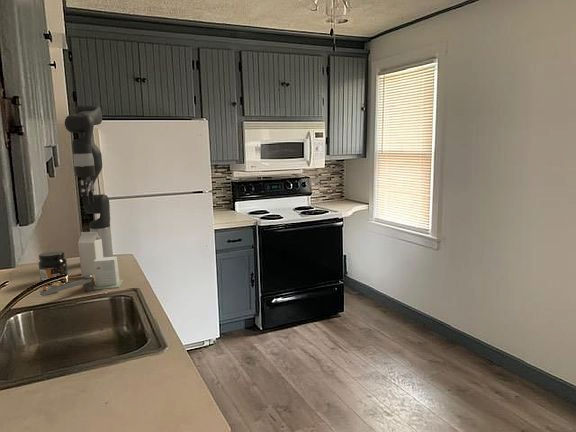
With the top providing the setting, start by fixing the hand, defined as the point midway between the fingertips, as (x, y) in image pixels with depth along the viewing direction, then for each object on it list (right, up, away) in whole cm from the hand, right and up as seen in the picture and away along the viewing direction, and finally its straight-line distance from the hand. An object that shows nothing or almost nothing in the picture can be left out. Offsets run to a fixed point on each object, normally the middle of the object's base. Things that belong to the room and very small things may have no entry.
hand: (88, 203), depth 179 cm
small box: (+10, -33, -5) cm, 35 cm away
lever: (+1, -32, -19) cm, 37 cm away
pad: (+10, -33, -6) cm, 35 cm away
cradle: (-2, -34, -7) cm, 35 cm away
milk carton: (-3, -31, +11) cm, 33 cm away
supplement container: (-15, -33, +2) cm, 36 cm away
